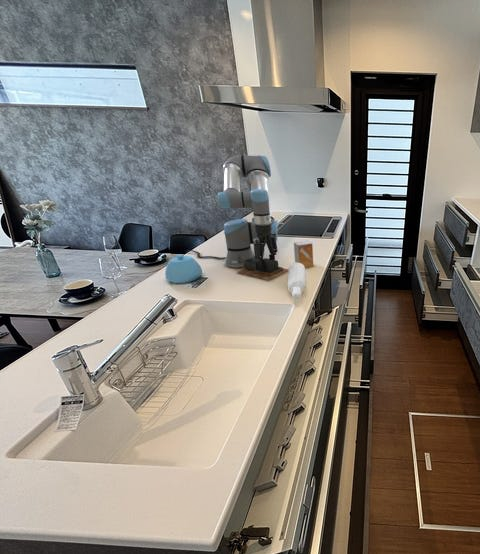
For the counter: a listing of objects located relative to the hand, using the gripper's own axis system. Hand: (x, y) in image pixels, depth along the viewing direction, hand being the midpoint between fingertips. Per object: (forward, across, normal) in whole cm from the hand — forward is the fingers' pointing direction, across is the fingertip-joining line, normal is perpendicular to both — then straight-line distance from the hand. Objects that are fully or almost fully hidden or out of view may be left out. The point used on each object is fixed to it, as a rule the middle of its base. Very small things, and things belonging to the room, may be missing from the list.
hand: (268, 269), depth 152 cm
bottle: (-2, +3, -16) cm, 16 cm away
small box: (+2, +17, -10) cm, 20 cm away
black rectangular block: (0, 0, 0) cm, 0 cm away
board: (+2, 0, +3) cm, 4 cm away
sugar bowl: (+2, -23, +30) cm, 38 cm away
